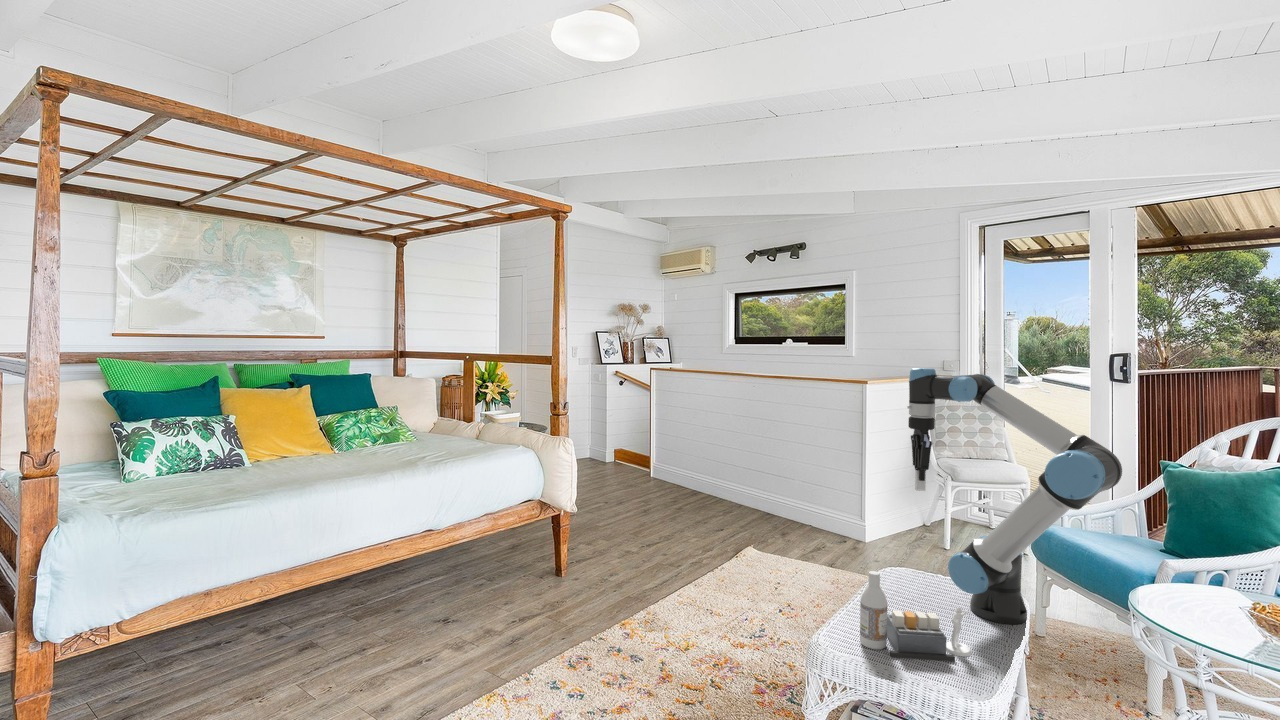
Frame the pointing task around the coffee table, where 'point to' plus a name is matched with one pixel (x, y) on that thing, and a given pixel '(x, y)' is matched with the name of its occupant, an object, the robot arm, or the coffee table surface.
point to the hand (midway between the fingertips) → (920, 489)
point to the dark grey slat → (922, 656)
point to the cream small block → (898, 618)
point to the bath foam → (873, 614)
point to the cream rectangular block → (932, 620)
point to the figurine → (954, 645)
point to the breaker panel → (916, 639)
